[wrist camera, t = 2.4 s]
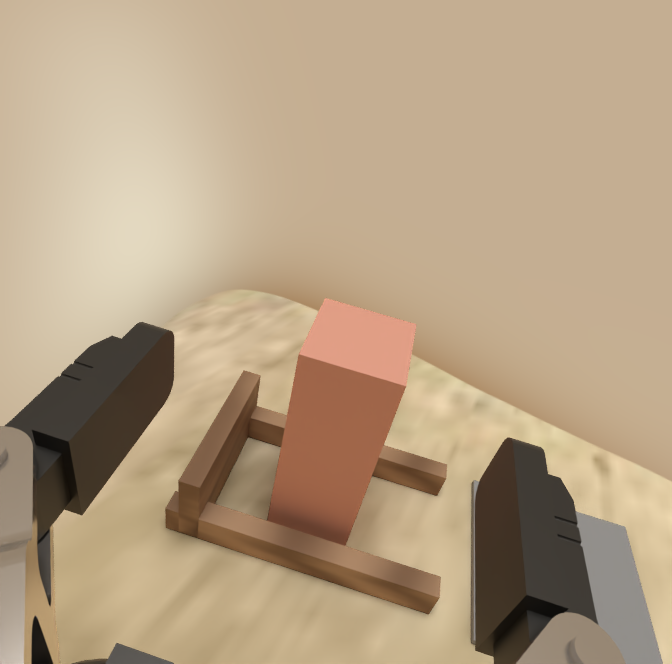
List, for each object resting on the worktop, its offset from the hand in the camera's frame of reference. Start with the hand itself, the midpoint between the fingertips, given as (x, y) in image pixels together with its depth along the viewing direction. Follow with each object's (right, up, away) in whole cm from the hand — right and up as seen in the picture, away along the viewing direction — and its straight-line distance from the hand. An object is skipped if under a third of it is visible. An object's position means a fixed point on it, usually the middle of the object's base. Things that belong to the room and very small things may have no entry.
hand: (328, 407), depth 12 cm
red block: (-1, -9, +21) cm, 23 cm away
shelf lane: (-1, -9, +21) cm, 23 cm away
